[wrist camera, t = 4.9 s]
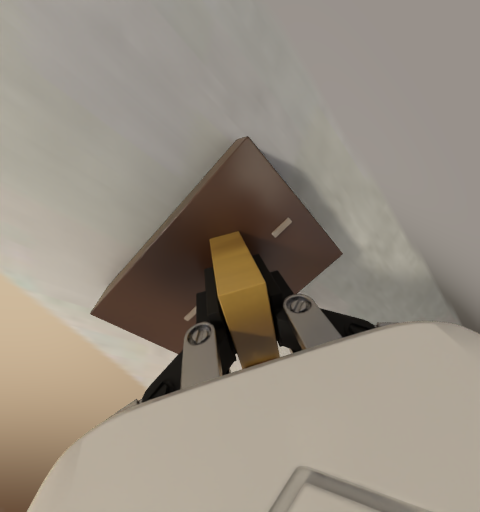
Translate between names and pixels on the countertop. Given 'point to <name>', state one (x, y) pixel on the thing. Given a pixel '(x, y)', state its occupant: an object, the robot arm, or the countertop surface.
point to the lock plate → (199, 251)
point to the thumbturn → (244, 300)
